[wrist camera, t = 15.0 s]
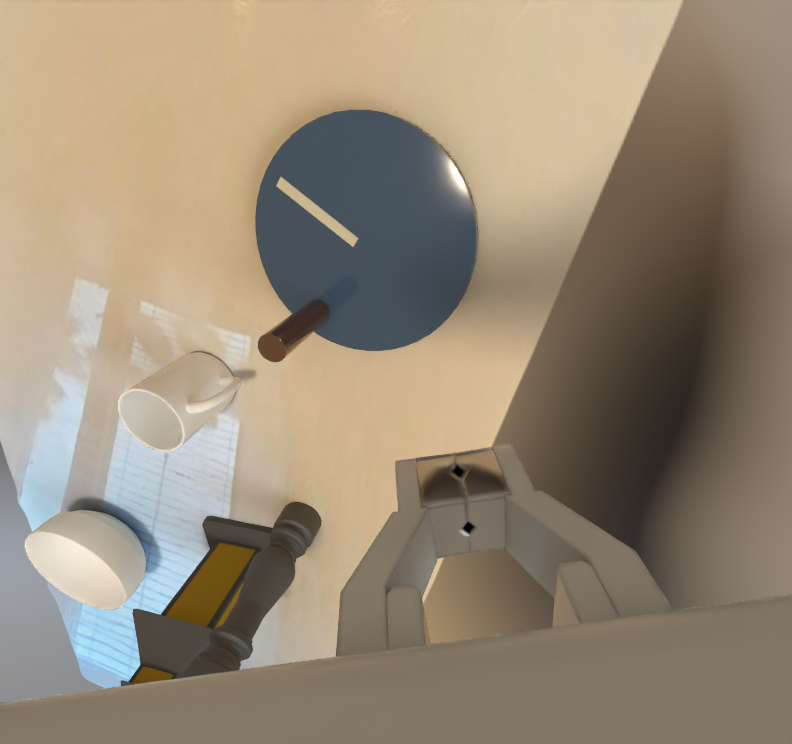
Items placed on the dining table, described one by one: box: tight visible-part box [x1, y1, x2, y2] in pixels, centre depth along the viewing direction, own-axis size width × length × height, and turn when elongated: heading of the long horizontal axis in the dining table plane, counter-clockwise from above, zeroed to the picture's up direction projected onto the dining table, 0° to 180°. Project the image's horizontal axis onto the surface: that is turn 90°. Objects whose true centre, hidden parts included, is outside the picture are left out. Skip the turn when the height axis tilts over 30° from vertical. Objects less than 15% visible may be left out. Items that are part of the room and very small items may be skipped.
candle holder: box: [180, 502, 321, 678], centre depth 50 cm, size 6×6×25 cm
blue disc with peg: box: [256, 110, 477, 362], centre depth 34 cm, size 22×22×11 cm
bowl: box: [25, 510, 146, 610], centre depth 72 cm, size 20×20×8 cm
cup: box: [118, 352, 241, 451], centre depth 48 cm, size 8×12×10 cm
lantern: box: [121, 516, 274, 686], centre depth 56 cm, size 14×14×30 cm
